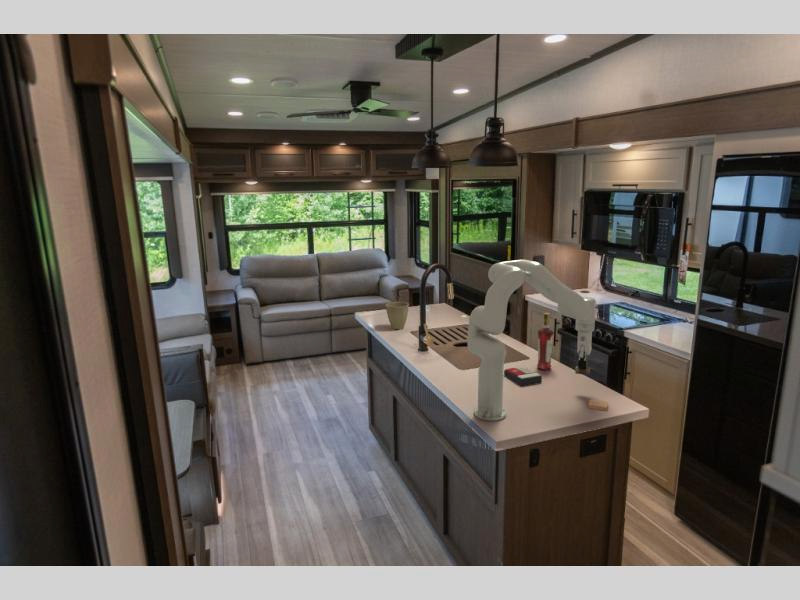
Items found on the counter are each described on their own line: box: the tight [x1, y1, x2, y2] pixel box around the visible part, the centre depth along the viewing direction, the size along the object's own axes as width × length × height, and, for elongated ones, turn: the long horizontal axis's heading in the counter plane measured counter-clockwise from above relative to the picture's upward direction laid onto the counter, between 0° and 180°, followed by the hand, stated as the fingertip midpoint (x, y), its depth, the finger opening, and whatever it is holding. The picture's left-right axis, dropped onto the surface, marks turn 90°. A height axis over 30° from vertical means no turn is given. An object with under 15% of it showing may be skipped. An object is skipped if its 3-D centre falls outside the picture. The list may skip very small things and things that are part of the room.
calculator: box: [503, 365, 543, 387], centre depth 235 cm, size 11×4×15 cm
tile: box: [587, 399, 609, 411], centre depth 205 cm, size 2×7×6 cm
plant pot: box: [385, 301, 410, 330], centre depth 322 cm, size 15×15×16 cm
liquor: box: [536, 312, 554, 371], centre depth 245 cm, size 7×7×28 cm
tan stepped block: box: [574, 352, 591, 376], centre depth 215 cm, size 3×6×12 cm, turn 64°
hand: (582, 367), depth 216 cm, fingers closed on tan stepped block, 3 cm apart
